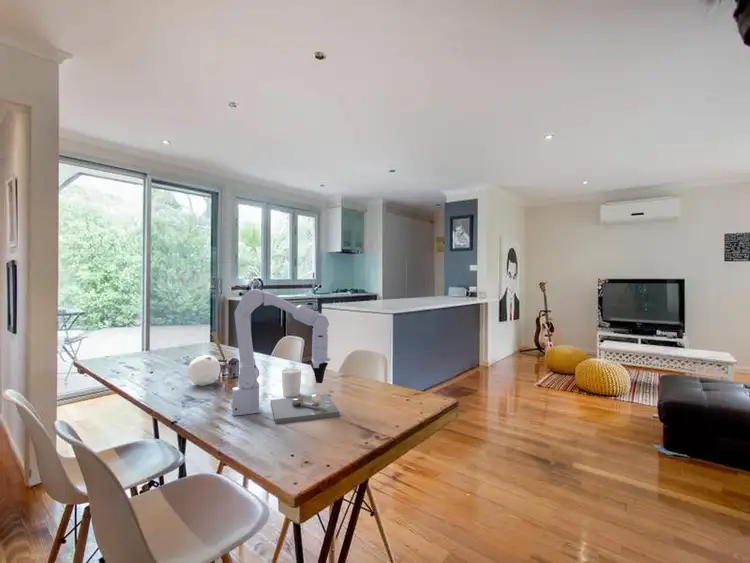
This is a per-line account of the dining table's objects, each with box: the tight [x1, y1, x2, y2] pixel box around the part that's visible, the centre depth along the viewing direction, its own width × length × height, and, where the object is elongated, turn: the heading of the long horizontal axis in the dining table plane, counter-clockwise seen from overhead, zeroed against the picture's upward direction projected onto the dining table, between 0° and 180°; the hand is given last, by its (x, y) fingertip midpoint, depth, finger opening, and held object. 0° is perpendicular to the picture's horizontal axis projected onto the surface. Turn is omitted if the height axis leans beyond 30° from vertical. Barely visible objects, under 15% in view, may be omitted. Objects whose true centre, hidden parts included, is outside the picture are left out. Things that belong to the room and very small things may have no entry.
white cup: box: [281, 367, 302, 398], centre depth 154 cm, size 8×8×10 cm
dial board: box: [269, 394, 340, 424], centre depth 137 cm, size 22×20×2 cm
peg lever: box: [292, 393, 327, 410], centre depth 135 cm, size 14×4×4 cm, turn 65°
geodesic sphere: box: [187, 354, 221, 387], centre depth 167 cm, size 14×14×14 cm
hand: (319, 382), depth 140 cm, fingers closed
